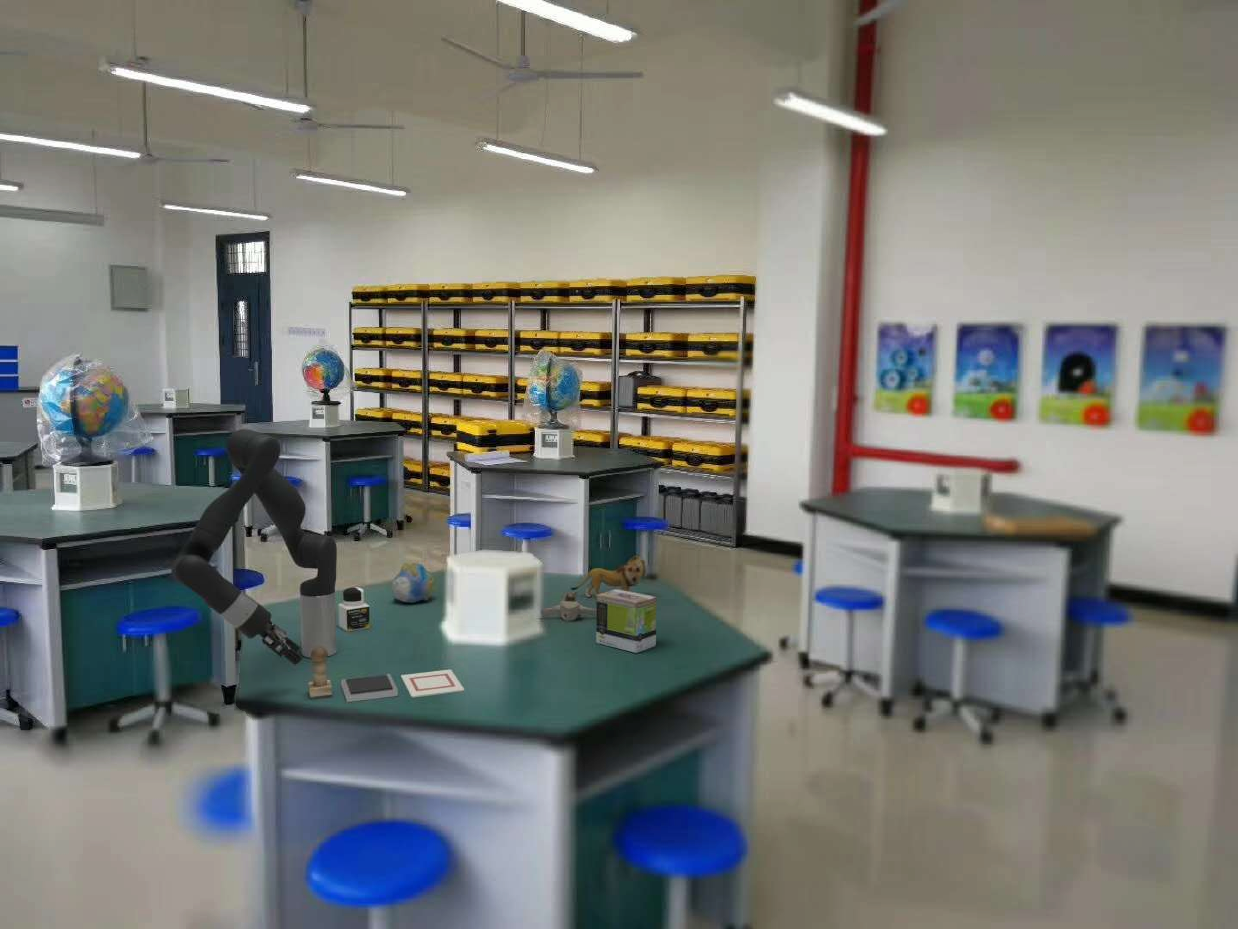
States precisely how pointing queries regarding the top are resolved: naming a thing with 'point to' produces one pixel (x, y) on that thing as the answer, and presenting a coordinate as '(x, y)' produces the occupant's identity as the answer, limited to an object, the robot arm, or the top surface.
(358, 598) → the medicine bottle
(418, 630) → the top surface
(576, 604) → the vertebra
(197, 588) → the robot arm
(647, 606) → the tea box
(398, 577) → the decorative rock
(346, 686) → the ink pad
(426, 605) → the top surface
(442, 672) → the card
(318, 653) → the stamp
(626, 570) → the animal model
